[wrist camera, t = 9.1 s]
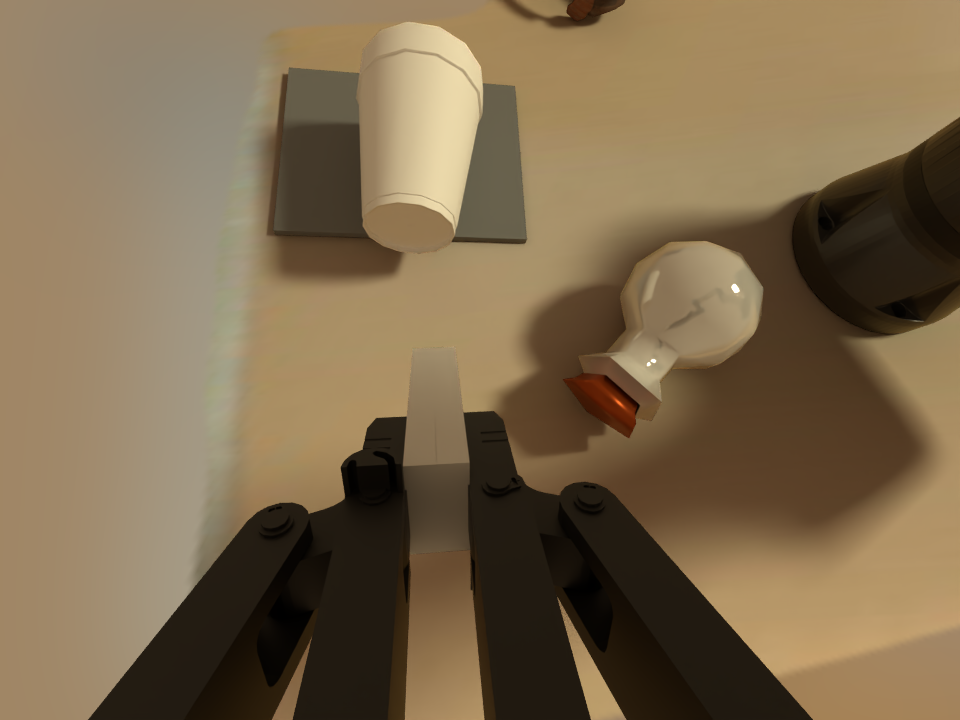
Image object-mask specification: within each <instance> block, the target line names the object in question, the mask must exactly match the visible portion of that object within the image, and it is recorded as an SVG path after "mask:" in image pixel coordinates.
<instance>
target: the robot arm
mask: <svg viewBox="0 0 960 720" xmlns="http://www.w3.org/2000/svg"><path fill="white" fill-rule="evenodd" d="M793 245H794V251H795V255H796V259H797V262H798V265H799V267H800V269H801V272H802V274H803V276H804V277H805V279H806V281H807V282H808V284H809V285H810V287H811V288H812V290H813V291H814V292H815V294H816V295H817V296H818V297H819V298H820V299H821V300H822V301H823V302H824V303H825V304H826V305H827V306H828V307H829V308H830V309H831V310H833V311H834V312H835V313H836V314H838V315H839V316H841V317H842V318H844V319H845V320H847V321H849V322H851V323H853V324H855V325H857V326H859V327H861V328H864V329H867V330H870V331H874V332H879V333H887V334H897V333H904V332H908V331H911V330H914V329H917V328H920V327H923V326H926V325H929V324H932V323H934V322H937V321H939V320H941V319H943V318H945V317H946V316H948V315H949V314H951V313H952V312H953V311H955V310H956V309H958V308H959V307H960V117H959V118H958V119H956V120H955V121H953V122H952V123H950V124H949V125H947V126H946V127H944V128H943V129H941V130H940V131H938V132H937V133H936V134H934V135H933V136H932V137H930V138H929V139H927V140H926V141H924V142H923V143H921V144H920V145H918V146H917V147H916V148H914V149H913V150H911V151H909V152H908V153H905V154H903V155H900V156H897V157H895V158H892V159H889V160H887V161H884V162H881V163H879V164H876V165H873V166H871V167H868V168H866V169H863V170H860V171H858V172H855V173H852V174H850V175H847V176H844V177H842V178H839V179H838V180H836V181H834V182H832V183H830V184H829V185H827V186H826V187H825V188H823V189H822V190H821V191H819V192H818V193H817V194H815V195H814V196H813V197H811V198H810V199H809V200H808V201H807V202H806V203H805V204H804V205H803V206H802V208H801V209H800V211H799V213H798V215H797V217H796V220H795V223H794V229H793ZM341 473H342V479H343V485H344V492H345V499H344V500H343V501H341V502H340V503H338V504H336V505H334V506H332V507H329V508H327V509H324V510H320V511H317V512H314V513H310V514H308V511H307V510H306V509H305V508H304V507H303V506H302V505H299V504H295V503H279V504H275V505H272V506H268V507H266V508H265V509H263V510H261V511H259V512H257V513H256V514H255V515H254V516H253V517H252V518H250V519H249V520H248V521H247V523H246V524H245V525H244V526H243V527H242V529H241V530H240V531H239V532H238V534H237V535H236V536H235V537H234V539H233V540H232V541H231V542H230V544H229V545H228V546H227V547H226V549H225V550H224V551H223V552H222V554H221V555H220V556H219V557H218V559H217V560H216V561H215V562H214V564H213V565H212V566H211V567H210V569H209V570H208V571H207V572H206V574H205V575H204V576H203V577H202V579H201V580H200V581H199V582H198V584H197V585H196V586H195V587H194V589H193V590H192V591H191V592H190V594H189V595H188V596H187V597H186V599H185V600H184V601H183V602H182V603H181V605H180V606H179V607H178V608H177V610H176V611H175V612H174V613H173V615H172V616H171V617H170V618H169V620H168V621H167V622H166V623H165V625H164V626H163V627H162V628H161V630H160V631H159V632H158V634H157V635H156V636H155V637H154V638H153V640H152V641H151V642H150V643H149V645H148V646H147V647H146V649H145V650H144V651H143V652H142V653H141V655H140V656H139V657H138V658H137V660H136V661H135V662H134V664H133V665H132V666H131V667H130V668H129V670H128V671H127V672H126V673H125V675H124V676H123V677H122V678H121V679H120V681H119V682H118V683H117V684H116V686H115V687H114V688H113V689H112V691H111V692H110V693H109V694H108V696H107V697H106V698H105V699H104V701H103V702H102V703H101V705H100V706H99V707H98V708H97V709H96V711H95V712H94V713H93V714H92V716H91V717H90V718H89V719H88V720H272V718H273V716H274V714H275V712H276V710H277V707H278V705H279V703H280V701H281V699H282V697H283V695H284V693H285V691H286V689H287V687H288V685H289V683H290V681H291V679H292V677H293V674H294V672H295V670H296V668H297V666H298V664H299V662H300V660H301V658H302V656H303V654H304V652H305V650H306V648H307V646H308V643H309V641H310V639H311V637H312V640H311V644H310V648H309V653H308V657H307V661H306V665H305V670H304V674H303V678H302V682H301V687H300V691H299V695H298V699H297V704H296V708H295V712H294V716H293V720H405V697H406V673H407V649H408V625H409V601H410V576H411V572H410V560H409V555H411V554H424V553H437V552H450V551H463V550H470V556H471V590H473V600H474V611H475V621H476V632H477V643H478V654H479V665H480V675H481V686H482V697H483V708H484V719H485V720H591V719H590V715H589V711H588V708H587V704H586V700H585V697H584V693H583V690H582V686H581V682H580V679H579V675H578V672H577V668H576V664H575V661H574V657H573V653H572V650H571V646H570V643H569V639H568V635H567V632H566V628H565V625H564V621H563V617H562V614H561V610H560V606H559V603H558V599H557V597H558V598H559V600H560V602H561V604H562V606H563V607H564V609H565V611H566V613H567V614H568V616H569V618H570V620H571V622H572V623H573V625H574V627H575V629H576V630H577V632H578V634H579V636H580V638H581V639H582V641H583V643H584V645H585V647H586V648H587V650H588V652H589V654H590V655H591V657H592V659H593V661H594V663H595V664H596V666H597V668H598V670H599V672H600V673H601V675H602V677H603V679H604V680H605V682H606V684H607V686H608V688H609V689H610V691H611V693H612V695H613V696H614V698H615V700H616V702H617V704H618V705H619V707H620V709H621V711H622V713H623V714H624V716H625V718H626V720H813V719H812V718H811V717H810V716H809V715H808V714H807V712H806V711H805V710H804V709H803V708H802V707H801V706H800V705H799V703H798V702H797V701H796V700H795V699H794V698H793V697H792V695H791V694H790V693H789V692H788V691H787V690H786V689H785V687H784V686H783V685H782V684H781V683H780V682H779V681H778V680H777V678H776V677H775V676H774V675H773V674H772V673H771V672H770V670H769V669H768V668H767V667H766V666H765V665H764V664H763V663H762V661H761V660H760V659H759V658H758V657H757V656H756V655H755V653H754V652H753V651H752V650H751V649H750V648H749V647H748V646H747V644H746V643H745V642H744V641H743V640H742V639H741V638H740V636H739V635H738V634H737V633H736V632H735V631H734V630H733V629H732V627H731V626H730V625H729V624H728V623H727V622H726V621H725V620H724V618H723V617H722V616H721V615H720V614H719V613H718V612H717V610H716V609H715V608H714V607H713V606H712V605H711V604H710V603H709V601H708V600H707V599H706V598H705V597H704V596H703V595H702V593H701V592H700V591H699V590H698V589H697V588H696V587H695V586H694V584H693V583H692V582H691V581H690V580H689V579H688V578H687V577H686V575H685V574H684V573H683V572H682V571H681V570H680V569H679V567H678V566H677V565H676V564H675V563H674V562H673V561H672V560H671V558H670V557H669V556H668V555H667V554H666V553H665V552H664V550H663V549H662V548H661V547H660V546H659V545H658V544H657V543H656V541H655V540H654V539H653V538H652V537H651V536H650V535H649V533H648V532H647V531H646V530H645V529H644V528H643V527H642V526H641V524H640V523H639V522H638V521H637V520H636V519H635V518H634V517H633V515H632V514H631V513H630V512H629V511H628V510H627V509H626V507H625V506H624V505H623V504H622V503H621V502H620V501H619V500H618V498H617V497H616V496H615V495H614V494H613V493H611V492H610V491H609V490H608V489H607V488H604V487H602V486H600V485H598V484H594V483H588V482H579V483H573V484H571V485H569V486H566V487H565V488H564V489H563V491H562V492H561V494H560V496H559V495H554V494H548V493H543V492H540V491H536V490H534V489H532V488H530V487H528V486H527V485H526V484H525V482H524V481H523V479H522V477H520V476H519V475H518V474H517V471H516V467H515V463H514V459H513V456H512V452H511V448H510V444H509V442H508V437H507V433H506V429H505V425H504V422H503V420H502V419H501V418H500V417H499V416H498V415H497V414H496V413H495V412H494V411H487V412H467V413H463V406H462V398H461V390H460V382H459V374H458V365H457V357H456V349H455V347H433V348H413V350H412V362H411V374H410V386H409V398H408V410H407V417H389V418H376V419H375V420H374V421H373V422H372V424H371V425H370V426H369V427H368V428H367V432H366V436H365V442H364V445H363V450H361V451H359V452H356V453H354V454H352V455H351V456H349V457H348V458H347V459H346V460H345V461H344V462H343V464H342V466H341ZM556 595H557V596H556ZM312 635H313V636H312Z"/></svg>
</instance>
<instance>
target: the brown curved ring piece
mask: <svg viewBox="0 0 960 720" xmlns="http://www.w3.org/2000/svg"><path fill="white" fill-rule="evenodd" d="M624 2H625V0H574V1H573V2H572V3H571V4H570V5H568V7H567V14H568V15H569V16H571V17H572V18H573V19H574V20H576V21H579V20H580V19H584V18H585V17H586V15H587V14H588V15H589V16H590V17H593V16H597V15H601V14H604V13H607V12H610V11H612V10H615V9H616V8H618V7H620V6H621V5H623V4H624Z"/></svg>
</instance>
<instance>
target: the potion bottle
mask: <svg viewBox="0 0 960 720" xmlns="http://www.w3.org/2000/svg"><path fill="white" fill-rule="evenodd" d="M763 290H764V288H763V286H762V285H761V283H760V282H759V280H758V279H757V277H756V276H755V274H754V273H753V271H752V270H751V268H750V266H749V265H748V263H747V262H746V260H745V259H744V257H743V256H742V254H741V253H738V252H735V251H733V250H730V249H727V248H724V247H721V246H719V245H716V244H713V243H710V242H707V241H689V242H669V243H667V244H666V245H664V246H663V247H661V248H660V249H658V250H657V251H655V252H653V253H652V254H650V255H649V256H647V257H646V258H644V259H643V260H641V261H639V262H638V263H636V265H635V267H634V269H633V271H632V273H631V275H630V277H629V279H628V281H627V283H626V285H625V287H624V288H623V290H622V292H621V294H620V301H621V307H622V312H623V318H624V323H625V326H626V330H625V331H624V332H623V333H622V335H621V336H620V337H619V338H618V339H617V340H616V341H615V342H614V344H613V345H612V346H611V347H610V348H609V349H608V350H607V352H601V353H594V354H588V355H581V356H578V358H579V361H580V363H581V366H582V368H583V371H584V373H582V374H581V375H579V376H577V377H575V378H567V379H563V380H564V382H565V383H566V384H567V386H568V387H569V388H570V390H571V391H572V392H573V394H574V395H575V396H576V398H577V399H578V400H579V402H580V403H581V404H582V406H583V407H584V408H585V410H586V411H587V412H589V413H590V414H592V415H593V416H595V417H596V418H598V419H600V420H601V421H603V422H604V423H606V424H607V425H609V426H610V427H612V428H614V429H615V430H617V431H618V432H620V433H621V434H623V435H624V436H626V437H628V438H630V435H631V433H632V431H633V429H634V427H635V425H636V419H635V418H638V419H644V420H649V421H652V419H653V417H654V415H655V414H656V412H657V410H658V408H659V407H660V405H661V403H662V398H661V389H660V383H661V382H662V381H663V379H664V378H665V377H666V376H667V375H668V373H669V372H670V371H671V370H672V369H706V368H709V367H712V366H715V365H718V364H720V363H722V362H723V361H725V360H727V359H728V358H730V357H731V356H733V355H734V354H736V353H737V352H739V351H740V350H741V349H742V348H743V347H744V345H745V344H746V343H747V342H748V340H749V339H750V338H751V337H752V335H753V334H754V333H755V331H756V329H757V326H758V324H759V322H760V319H761V314H762V302H763Z"/></svg>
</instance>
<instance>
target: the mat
mask: <svg viewBox="0 0 960 720" xmlns="http://www.w3.org/2000/svg"><path fill="white" fill-rule="evenodd" d="M358 81H359V73H349V72H337V71H325V70H312V69H300V68H289V72H288V82H287V93H286V103H285V113H284V124H283V134H282V145H281V155H280V166H279V176H278V186H277V197H276V207H275V218H274V228H273V231H274V233H275V234H276V235H302V236H332V237H361V238H370V237H369V236H368V234H367V232H366V231H365V229H364V227H363V226H362V225H363V218H362V200H361V162H360V125H359V104H358V102H357V99H356V95H357V88H358ZM482 84H483V109H482V117H481V119H480V121H479V123H478V126H477V131H476V136H475V141H474V146H473V151H472V155H471V160H470V165H469V170H468V175H467V180H466V185H465V190H464V195H463V200H462V205H461V210H460V215H459V220H458V225H457V228H456V230H455V236H454V238H453V239H452V241H479V242H508V243H525V242H526V240H527V235H526V222H525V209H524V196H523V183H522V170H521V157H520V144H519V131H518V118H517V105H516V92H515V86H508V85H496V84H484V83H482Z"/></svg>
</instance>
